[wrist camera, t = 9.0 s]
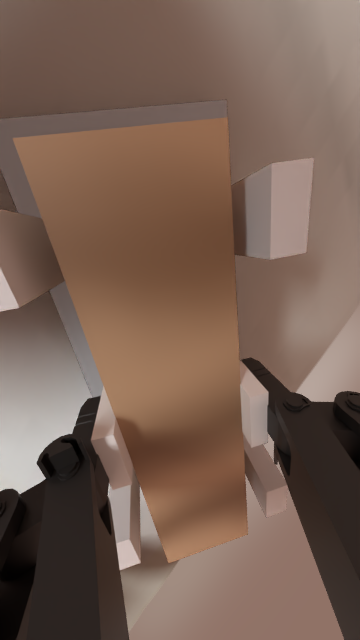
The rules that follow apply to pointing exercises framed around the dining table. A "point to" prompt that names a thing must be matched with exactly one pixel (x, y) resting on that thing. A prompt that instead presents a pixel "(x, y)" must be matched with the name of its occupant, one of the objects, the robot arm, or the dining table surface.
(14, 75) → the dining table surface
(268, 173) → the bracket board
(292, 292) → the dining table surface
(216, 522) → the rail
